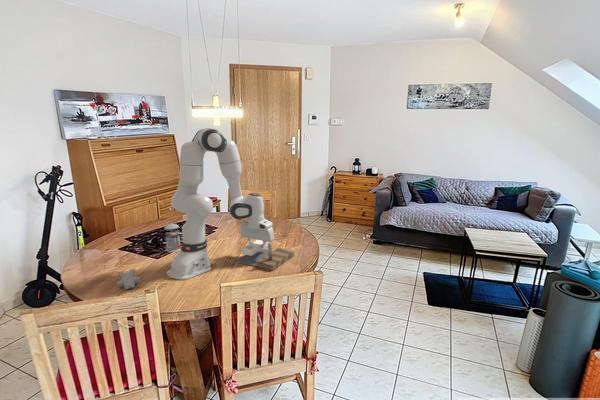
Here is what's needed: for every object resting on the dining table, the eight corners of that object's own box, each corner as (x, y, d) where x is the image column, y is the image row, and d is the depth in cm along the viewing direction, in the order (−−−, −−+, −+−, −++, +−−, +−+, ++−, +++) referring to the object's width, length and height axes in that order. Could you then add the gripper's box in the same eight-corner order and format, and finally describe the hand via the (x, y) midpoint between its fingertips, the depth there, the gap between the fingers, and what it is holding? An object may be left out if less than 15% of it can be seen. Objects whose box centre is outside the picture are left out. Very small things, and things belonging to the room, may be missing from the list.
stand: (273, 270, 172) (272, 248, 169) (256, 267, 176) (255, 245, 173) (294, 255, 191) (294, 235, 188) (279, 252, 195) (278, 232, 192)
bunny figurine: (117, 285, 149) (114, 269, 161) (118, 295, 151) (115, 278, 163) (141, 279, 154) (136, 264, 166) (142, 289, 156) (137, 273, 168)
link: (251, 255, 180) (251, 250, 179) (242, 253, 182) (242, 248, 182) (269, 244, 195) (269, 239, 195) (260, 242, 198) (260, 237, 197)
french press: (174, 245, 208) (171, 205, 202) (188, 248, 202) (184, 207, 196) (161, 250, 199) (156, 208, 194) (174, 254, 194) (170, 211, 188)
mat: (254, 266, 177) (254, 265, 177) (234, 261, 183) (234, 261, 183) (276, 252, 196) (276, 251, 196) (258, 248, 202) (258, 247, 202)
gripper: (237, 221, 188) (238, 245, 191) (268, 226, 179) (269, 251, 182) (244, 218, 193) (245, 241, 197) (275, 223, 184) (275, 247, 188)
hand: (257, 246), depth 189 cm, fingers closed on link, 6 cm apart
